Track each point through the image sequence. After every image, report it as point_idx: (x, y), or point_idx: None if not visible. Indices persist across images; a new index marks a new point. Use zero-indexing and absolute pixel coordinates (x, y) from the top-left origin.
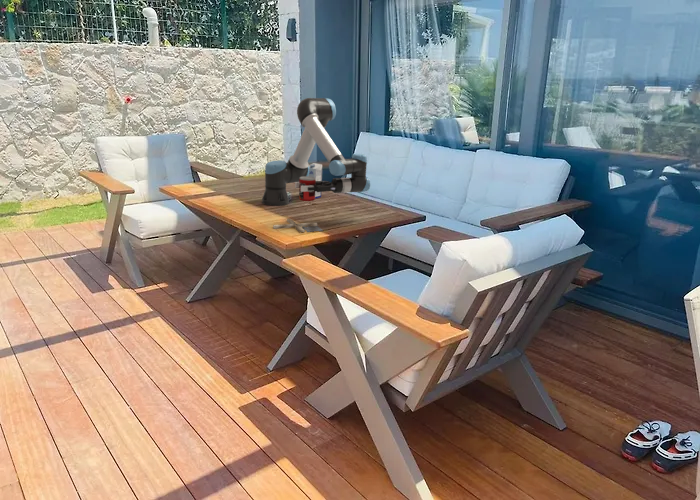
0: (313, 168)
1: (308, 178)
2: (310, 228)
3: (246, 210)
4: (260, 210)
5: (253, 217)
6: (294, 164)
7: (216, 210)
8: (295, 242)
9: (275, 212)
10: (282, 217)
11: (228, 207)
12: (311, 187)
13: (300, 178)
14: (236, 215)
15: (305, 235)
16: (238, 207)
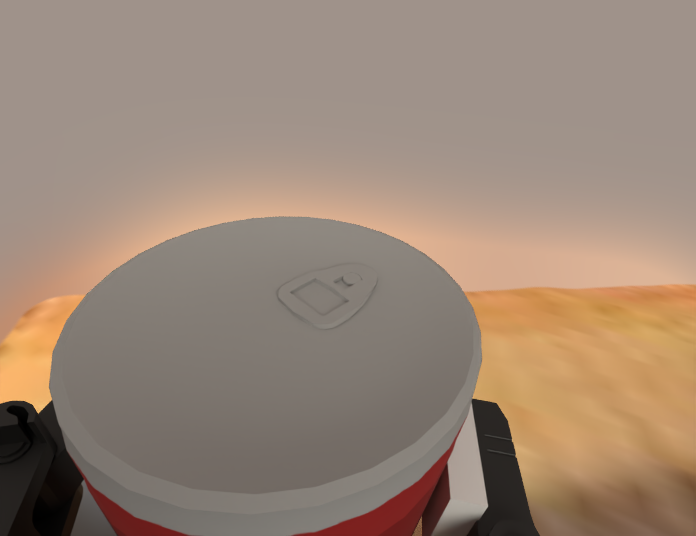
0: None
1: (281, 326)
2: (93, 515)
3: (627, 377)
4: (649, 439)
5: (483, 352)
6: None
7: (598, 294)
8: (22, 325)
9: (615, 508)
10: None
11: (669, 338)
12: None
13: (312, 220)
14: (521, 315)
15: (39, 412)
16: (686, 370)
